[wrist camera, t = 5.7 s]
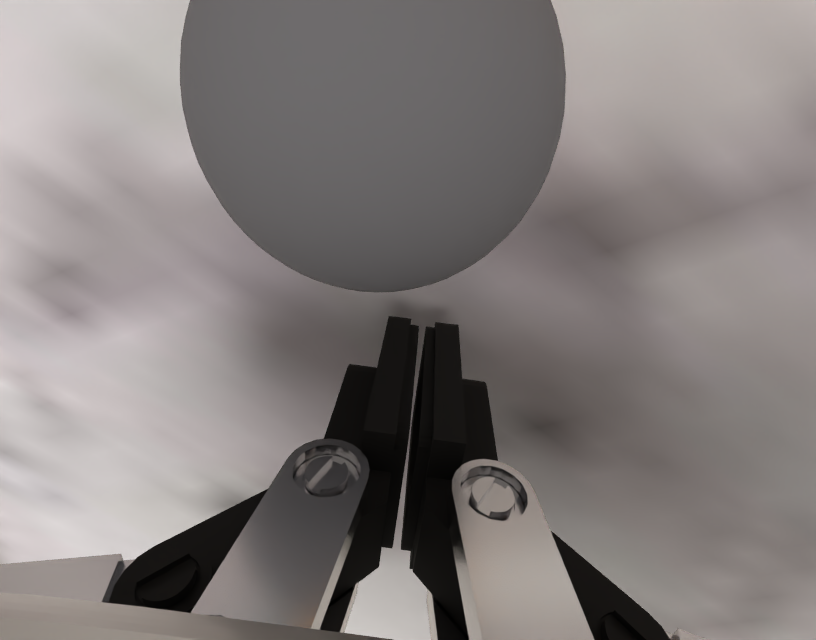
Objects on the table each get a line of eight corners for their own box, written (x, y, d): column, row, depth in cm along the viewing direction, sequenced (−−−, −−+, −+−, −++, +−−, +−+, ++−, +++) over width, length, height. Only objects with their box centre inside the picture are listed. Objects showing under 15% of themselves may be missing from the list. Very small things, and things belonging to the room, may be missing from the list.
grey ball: (650, -187, 3) (575, -196, 6) (-71, -40, 4) (218, -118, 7) (554, 371, 7) (543, 171, 10) (226, 354, 8) (318, 181, 11)
